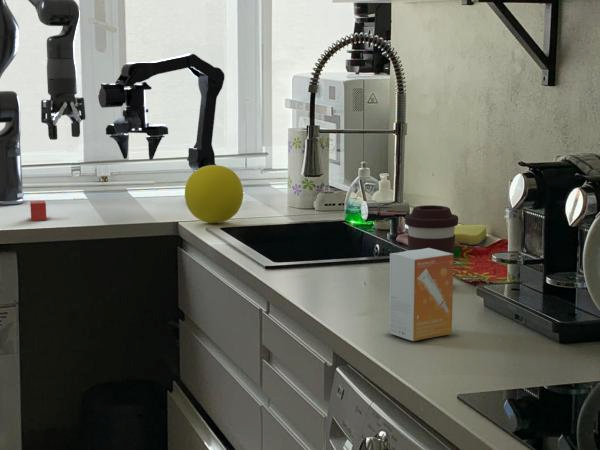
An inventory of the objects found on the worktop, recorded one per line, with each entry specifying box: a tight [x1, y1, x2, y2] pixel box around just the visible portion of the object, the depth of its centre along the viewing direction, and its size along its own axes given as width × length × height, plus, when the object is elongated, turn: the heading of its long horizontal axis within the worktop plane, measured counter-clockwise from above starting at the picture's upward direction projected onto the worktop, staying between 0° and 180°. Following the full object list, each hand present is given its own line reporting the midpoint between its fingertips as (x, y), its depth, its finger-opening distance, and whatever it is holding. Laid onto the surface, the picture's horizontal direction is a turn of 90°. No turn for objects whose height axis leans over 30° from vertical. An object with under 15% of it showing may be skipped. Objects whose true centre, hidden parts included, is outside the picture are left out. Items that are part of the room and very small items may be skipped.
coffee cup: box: [404, 204, 459, 255], centre depth 197 cm, size 10×10×15 cm
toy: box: [184, 164, 244, 224], centre depth 272 cm, size 15×15×15 cm
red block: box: [30, 200, 48, 222], centre depth 282 cm, size 4×5×5 cm
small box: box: [388, 248, 455, 342], centre depth 164 cm, size 8×6×13 cm
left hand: (64, 138), depth 276 cm, fingers open, 8 cm apart
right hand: (138, 159), depth 307 cm, fingers open, 9 cm apart
